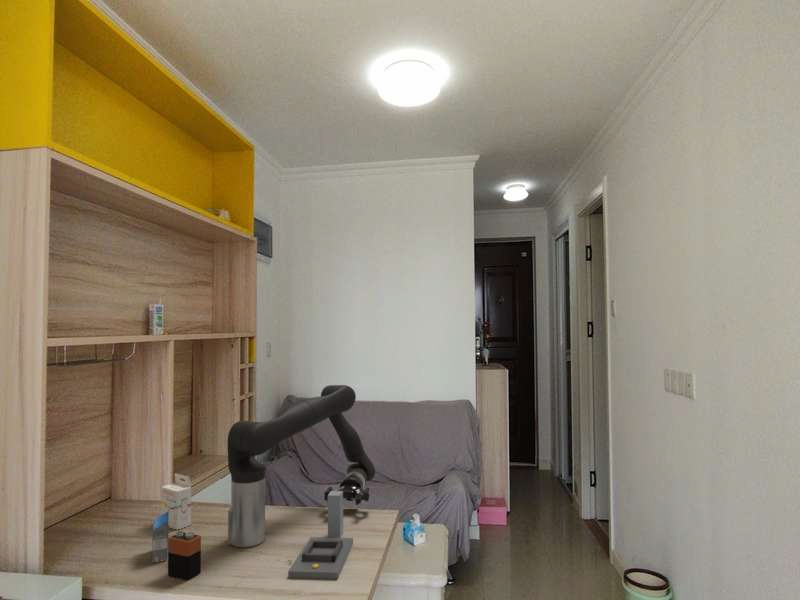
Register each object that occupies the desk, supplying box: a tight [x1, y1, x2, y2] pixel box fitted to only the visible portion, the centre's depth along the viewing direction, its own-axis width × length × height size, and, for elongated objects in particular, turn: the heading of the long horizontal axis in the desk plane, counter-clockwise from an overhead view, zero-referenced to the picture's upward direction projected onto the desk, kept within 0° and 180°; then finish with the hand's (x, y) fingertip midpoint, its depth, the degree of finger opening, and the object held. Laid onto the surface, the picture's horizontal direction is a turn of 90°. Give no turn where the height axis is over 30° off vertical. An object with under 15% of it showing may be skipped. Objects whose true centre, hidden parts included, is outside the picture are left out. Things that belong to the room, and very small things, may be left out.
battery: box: [167, 530, 202, 581], centre depth 123 cm, size 4×7×10 cm, turn 66°
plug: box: [327, 491, 344, 538], centre depth 145 cm, size 4×4×12 cm
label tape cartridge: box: [151, 502, 170, 563], centre depth 134 cm, size 9×4×12 cm, turn 23°
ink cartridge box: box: [160, 473, 192, 531], centre depth 155 cm, size 9×5×15 cm, turn 58°
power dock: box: [287, 536, 354, 580], centre depth 130 cm, size 12×20×3 cm, turn 175°
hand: (343, 501), depth 156 cm, fingers open, 8 cm apart
